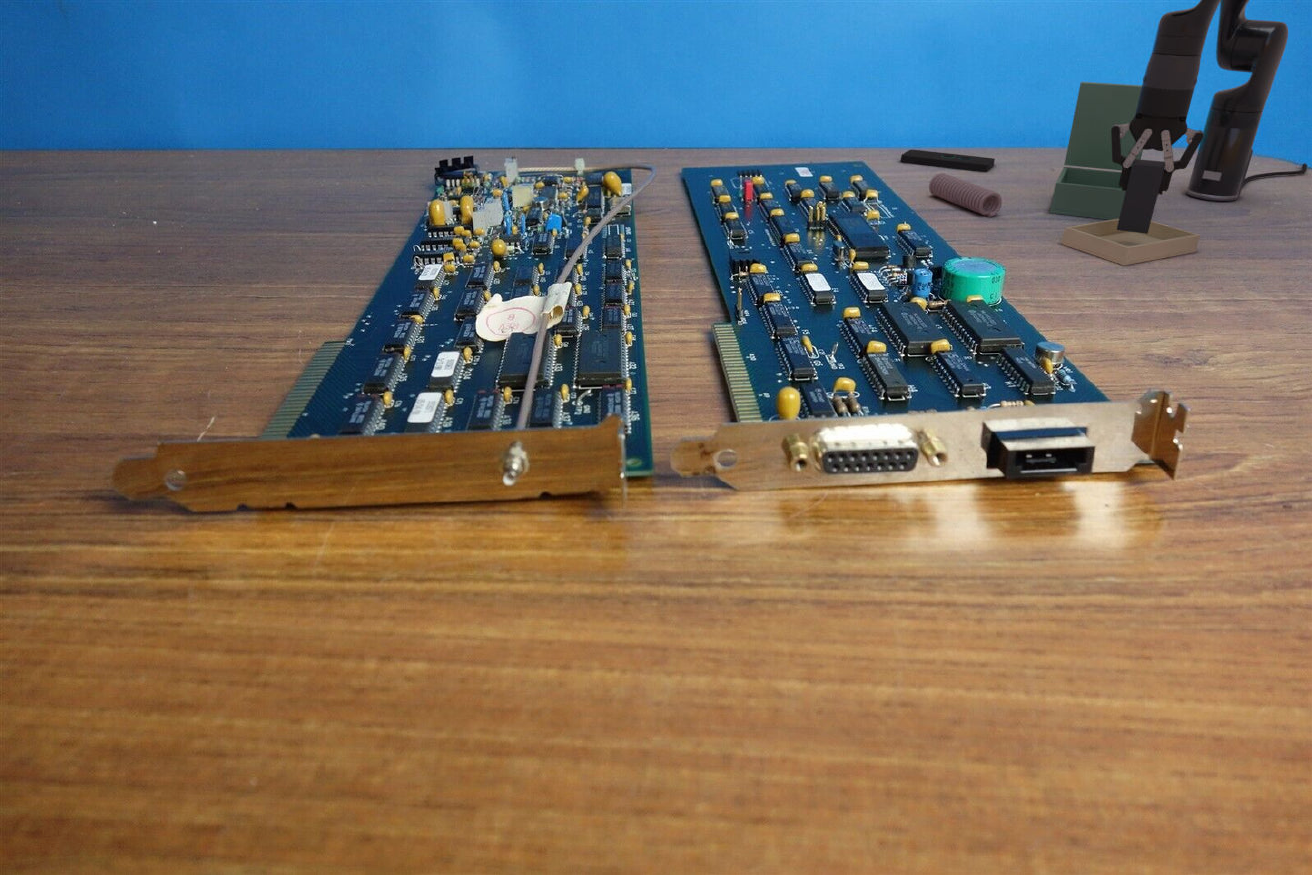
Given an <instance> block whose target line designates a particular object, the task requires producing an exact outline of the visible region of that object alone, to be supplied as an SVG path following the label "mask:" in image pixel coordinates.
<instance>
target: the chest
mask: <svg viewBox="0 0 1312 875" xmlns="http://www.w3.org/2000/svg"><path fill="white" fill-rule="evenodd" d="M1121 172H1122V171H1115V170H1104V169H1094V168H1082V167H1073V166H1064V167H1063V168H1062V170H1061V172H1060V174H1059V176H1058V178H1057V180H1056V182H1055V185H1054V191H1053V196H1052V201H1051V205H1050V210H1049V214H1055V215H1064V216H1072V217H1081V218H1091V219H1098V220H1099V219H1100V220H1106V221H1107V220H1113V219H1119V217H1120V213H1121V209H1122V205H1123V201H1124V197H1125V193H1126V191H1122V187H1119V181H1120V176H1121Z"/></svg>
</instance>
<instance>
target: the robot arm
mask: <svg viewBox="0 0 1312 875" xmlns="http://www.w3.org/2000/svg"><path fill="white" fill-rule="evenodd" d="M1249 2H1250V0H1199V2H1198V3H1197V4H1196V5H1195V6H1193V7H1191V8H1186V9H1181V10H1174V11H1169V12H1166V13H1164V14H1163V15H1162V16H1161V17H1160V19H1159V22H1158V25H1157V29H1156V34H1155V38H1154V42H1153V46H1152V50H1151V54H1150V57H1149V59H1148V62H1147V65H1146V69H1145V72H1144V76H1143V77H1142V84H1141V85H1142V88H1141V92H1140V96H1139V101H1138V105H1137V109H1136V113H1135V117H1134V118H1133V120H1132V121H1131V122H1130V123H1128V124H1122V125H1119V124H1115V125H1113V127H1112V129H1111V138H1112V161H1113V162H1114V163H1118V164H1120V165H1121V166H1122V171H1120V172H1121V176H1120V181H1119V187H1122V191H1126V189H1127V185H1128V181H1129V177H1130V173H1131V168H1132V166H1131V164H1132V163H1133V161H1134V160H1135V158H1136V157H1137V155H1138V154H1139V152H1140V151H1141V149H1143V151H1144V150H1145V151H1148V150H1154V151H1157V152H1162V154H1163V160H1164V161H1163V162H1165V169H1164V173H1163V177H1162V181H1161V184H1160V188H1159V192H1158V195H1163V192H1167V191H1168V190H1169V187H1170V184H1171V180H1172V176H1173V173H1174V172H1175V171H1178V170H1185V169H1186V168H1188V165H1189V164H1190V162H1191V160H1192V158H1193V156H1194V155H1195V153H1196V157H1195V161H1194V165H1193V168H1192V171H1191V175H1190V177H1189V181H1188V186H1187V188H1186V192H1185V193H1186V195H1188V196H1189V197H1193V198H1196V199H1200V200H1206V201H1214V202H1231V201H1236V200H1238V198H1239V197H1240V196H1241V193H1242V190H1243V188H1244V186H1246V184H1247V182H1249V181H1251V180H1255V179H1259V178H1266V177H1274V176H1295V175H1302V174H1304V173H1305V172H1307V169H1308V164H1307V163H1303V164H1302V165H1301V169H1300V170H1290V171H1289V170H1288V171H1273V172H1272V171H1271V172H1265V173H1258V174H1253V175H1249V176H1247V173H1248V170H1249V166H1250V163H1251V159H1252V156H1253V154H1254V150H1253V147H1254V142H1255V140H1256V135H1257V133H1258V129H1259V126H1260V123H1261V119H1262V115H1263V112H1264V110H1265V106H1266V103H1267V100H1268V99H1269V96H1270V93H1271V91H1272V86H1273V84H1274V80H1275V78H1276V75H1277V72H1278V69H1279V66H1280V64H1281V62H1282V58H1283V55H1284V53H1285V50H1286V47H1287V44H1288V43H1287V42H1288V39H1289V27H1288V25H1287V24H1286V22H1283V21H1277V20H1262V19H1261V20H1260V19H1248V18H1247V17H1246V7H1247V5H1248V3H1249ZM1218 7H1219V13H1218V24H1217V34H1216V44H1215V59H1216V63H1217V65H1218V67H1219V68H1220V69H1222V70H1226V71H1229V72H1230V71H1231V72H1240V73H1250V76H1249V78H1248V80H1247V81H1246V82H1244V83H1243V84H1241V85H1238V86H1236V87H1231V88H1227V89H1222V90H1218V91H1216V92H1215V93H1214V94H1213V96H1212V98H1211V102H1210V107H1209V109H1208V112H1207V117H1206V120H1205V124H1204V128H1203V130H1200V129H1198V130H1196V129H1193V128H1190V127H1188V124H1187V118H1188V115H1189V110H1190V107H1191V103H1192V99H1193V97H1194V96H1193V95H1194V91H1195V89H1196V85H1197V83H1198V76H1199V73H1200V67H1201V59H1202V54H1203V50H1204V46H1205V43H1206V39H1207V35H1208V33H1209V28H1210V25H1211V23H1212V21H1213V18H1214V16H1215V13H1216V11H1217V10H1218ZM1128 130H1130V132H1131V134H1132V136H1133V138H1134V140H1135V144H1134V145H1133V147H1132V149H1131V150H1130V152H1129V153H1128V155H1127V157H1125V156H1123V155H1121V139H1120V138H1123V137H1124V136H1125V133H1126V131H1128ZM1184 135H1185V136H1186V139H1185V142H1186V144H1188V145H1187V147H1186V148H1185V150H1184V152H1183V153H1182V155H1181V157H1180V159H1178V160H1174V154H1173V153H1174V152H1173V145H1174V144H1176V143H1177V141H1179V140H1180V139H1181V138H1183V136H1184ZM1196 151H1197V152H1196ZM1246 176H1247V177H1246Z"/></svg>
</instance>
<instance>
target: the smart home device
mask: <svg viewBox="0 0 1312 875" xmlns="http://www.w3.org/2000/svg"><path fill="white" fill-rule="evenodd" d="M995 160H996V159H995V158H992V157H987V156H986V157H984V156H976V155H966V154H957V153H949V152H940V151H931V150H921V149H908V150H906V151H905V152H904V153H902V154H901V156H900V163H903V164H904V163H905V164H913V165H922V166H931V167H938V168H939V167H941V168H948V169H957V170H958V169H959V170H964V171H965V170H967V171H975V172H984V173H985V172H989V170H990V169H991V168H993V167H994V166H995Z"/></svg>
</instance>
